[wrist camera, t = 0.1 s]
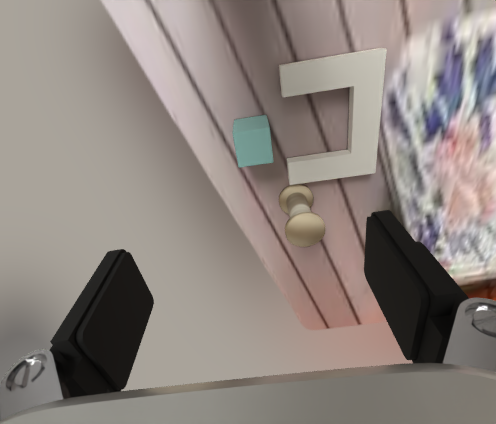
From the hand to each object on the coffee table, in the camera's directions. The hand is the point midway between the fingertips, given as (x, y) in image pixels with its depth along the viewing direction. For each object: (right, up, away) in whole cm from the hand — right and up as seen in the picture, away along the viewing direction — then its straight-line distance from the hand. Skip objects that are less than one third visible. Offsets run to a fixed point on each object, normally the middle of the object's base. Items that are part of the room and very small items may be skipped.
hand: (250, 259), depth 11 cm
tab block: (+1, +14, +34) cm, 37 cm away
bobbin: (+9, +4, +40) cm, 41 cm away
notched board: (+13, +16, +33) cm, 39 cm away
